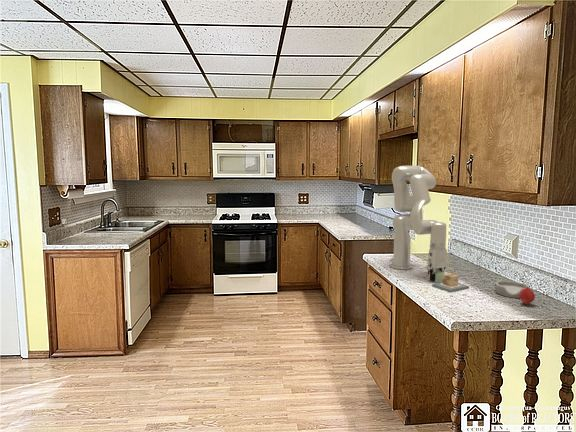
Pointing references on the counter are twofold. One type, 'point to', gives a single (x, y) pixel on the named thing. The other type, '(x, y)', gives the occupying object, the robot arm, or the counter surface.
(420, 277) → the counter surface
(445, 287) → the build board
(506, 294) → the dish
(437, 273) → the sage block
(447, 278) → the oak block
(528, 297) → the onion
